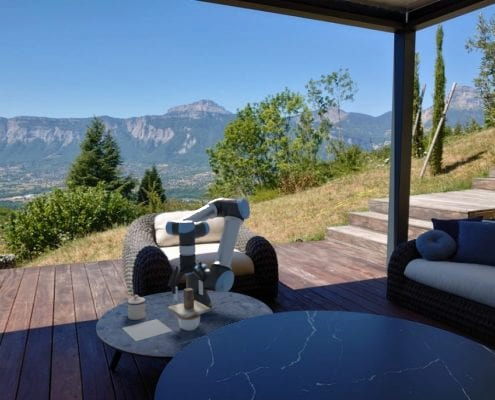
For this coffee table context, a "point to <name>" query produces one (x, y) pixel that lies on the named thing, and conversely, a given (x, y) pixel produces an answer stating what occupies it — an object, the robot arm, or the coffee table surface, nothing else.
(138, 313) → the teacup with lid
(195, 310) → the board
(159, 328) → the mat
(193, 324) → the lidded jar
